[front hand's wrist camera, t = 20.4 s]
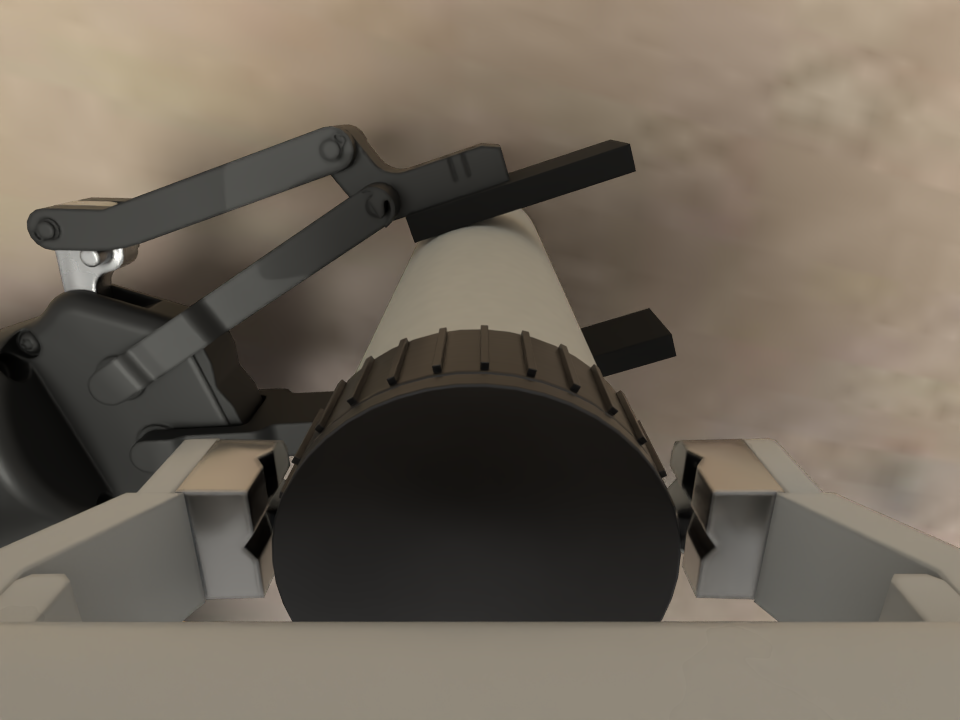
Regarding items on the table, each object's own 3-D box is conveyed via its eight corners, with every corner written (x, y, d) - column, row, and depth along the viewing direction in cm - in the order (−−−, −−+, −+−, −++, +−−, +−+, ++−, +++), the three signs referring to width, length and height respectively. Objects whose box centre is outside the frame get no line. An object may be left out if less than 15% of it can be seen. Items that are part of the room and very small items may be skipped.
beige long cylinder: (552, 205, 25) (704, 412, 8) (525, 320, 27) (602, 692, 10) (430, 180, 25) (314, 342, 8) (411, 299, 27) (283, 645, 10)
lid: (232, 447, 10) (173, 527, 8) (525, 247, 9) (538, 285, 7) (440, 662, 12) (431, 770, 10) (709, 520, 10) (759, 610, 8)
